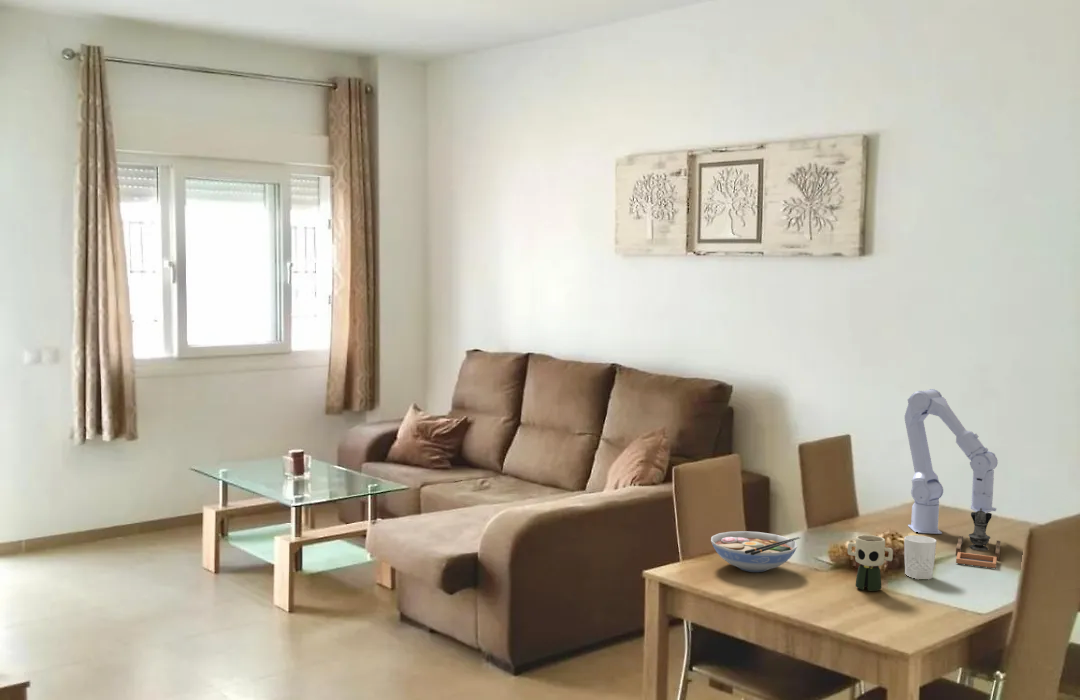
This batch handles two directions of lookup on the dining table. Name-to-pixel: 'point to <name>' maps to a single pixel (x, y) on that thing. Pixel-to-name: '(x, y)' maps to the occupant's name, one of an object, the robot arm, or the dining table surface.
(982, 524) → the dark grey figurine
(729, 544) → the ramen bowl
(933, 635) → the dining table surface
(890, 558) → the character mug
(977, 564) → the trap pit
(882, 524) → the dining table surface
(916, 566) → the white cup
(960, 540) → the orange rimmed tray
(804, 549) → the dining table surface
